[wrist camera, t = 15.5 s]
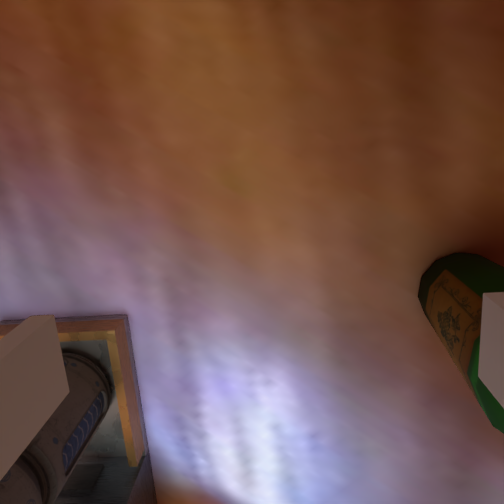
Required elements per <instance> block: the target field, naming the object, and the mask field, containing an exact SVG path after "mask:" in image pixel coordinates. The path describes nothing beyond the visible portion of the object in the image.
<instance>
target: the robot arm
mask: <svg viewBox="0 0 504 504" xmlns="http://www.w3.org/2000/svg"><path fill="white" fill-rule="evenodd" d="M478 377H479V378H480V379H481V381H482V382H483V383H484V385H485V386H486V387H487V388H488V390H489V391H490V392H491V393H492V395H493V396H494V397H495V398H496V400H497V401H498V402H499V403H500V405H501V406H502V407H503V408H504V292H495V293H483V302H482V318H481V335H480V351H479V368H478ZM69 392H70V391H69V386H68V381H67V376H66V371H65V367H64V362H63V357H62V352H61V347H60V342H59V337H58V332H57V327H56V322H55V318H54V315H39V316H30V317H29V318H27V319H26V320H25V321H23V322H22V323H21V324H20V325H18V326H17V327H16V328H14V329H13V330H12V331H10V332H9V333H8V334H7V335H5V336H4V337H3V338H1V339H0V481H1V479H2V478H3V477H4V475H5V474H6V473H7V472H8V470H9V469H10V468H11V466H12V465H13V464H14V463H15V461H16V460H17V459H18V457H19V456H20V455H21V454H22V452H23V451H24V450H25V448H26V447H27V446H28V445H29V443H30V442H31V441H32V439H33V438H34V437H35V436H36V434H37V433H38V432H39V430H40V429H41V428H42V427H43V425H44V424H45V423H46V421H47V420H48V419H49V418H50V416H51V415H52V414H53V412H54V411H55V410H56V409H57V407H58V406H59V405H60V403H61V402H62V401H63V400H64V398H65V397H66V396H67V395H68V393H69Z"/></svg>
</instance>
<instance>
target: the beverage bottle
mask: <svg viewBox="0 0 504 504" xmlns="http://www.w3.org/2000/svg"><path fill="white" fill-rule="evenodd" d="M62 357H63V362H64V367H65V371H66V376H67V381H68V386H69V391H70V392H69V393H68V395H67V396H66V397H65V398H64V400H63V401H62V402H61V403H60V405H59V406H58V407H57V409H56V410H55V411H54V412H53V414H52V415H51V416H50V418H49V419H48V420H47V421H46V423H45V424H44V425H43V427H42V428H41V429H40V430H39V432H38V433H37V434H36V436H35V437H34V438H33V439H32V441H31V442H30V443H29V445H28V446H27V447H26V448H25V450H24V451H23V452H22V454H21V455H20V456H19V457H18V459H17V460H16V461H15V463H14V464H13V465H12V466H11V468H10V469H9V470H8V472H7V473H6V474H5V475H4V477H3V478H2V479H1V481H0V504H54V502H55V500H56V498H57V497H58V495H59V493H60V492H61V490H62V488H63V487H64V485H65V483H66V482H67V480H68V478H69V476H70V475H71V473H72V471H73V470H74V468H75V466H76V465H77V463H78V461H79V460H80V458H81V456H82V455H83V453H84V451H85V449H86V448H87V446H88V444H89V443H90V441H91V439H92V438H93V436H94V434H95V433H96V431H97V429H98V427H99V426H100V424H101V422H102V421H103V419H104V417H105V416H106V414H107V412H108V410H109V406H110V402H111V393H110V389H109V385H108V381H107V379H106V377H105V375H104V373H103V372H102V371H101V369H100V368H99V367H98V366H97V365H94V364H93V362H92V361H91V360H89V359H87V358H85V357H83V356H81V355H77V354H74V353H62Z"/></svg>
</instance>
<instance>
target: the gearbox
mask: <svg viewBox="0 0 504 504" xmlns="http://www.w3.org/2000/svg"><path fill="white" fill-rule="evenodd" d="M23 321H25V320H8V321H0V339H1V338H3V337H4V336H5V335H7V334H8V333H9V332H10V331H12V330H13V329H14V328H16V327H17V326H18V325H20V324H21V323H22V322H23ZM55 322H56V327H57V332H58V337H59V342H60V347H61V352H62V353H74V354H77V355H81V356H83V357H85V358H87V359H89V360H91V361H92V362H93V364H94V365H97V366H98V367H99V368H100V369H101V371H102V372H103V373H104V375H105V377H106V379H107V381H108V385H109V389H110V393H111V402H110V406H109V410H108V412H107V414H106V416H105V417H104V419H103V421H102V422H101V424H100V426H99V427H98V429H97V431H96V433H95V434H94V436H93V438H92V439H91V441H90V443H89V444H88V446H87V448H86V449H85V451H84V453H83V455H82V456H81V458H80V460H79V461H78V463H77V465H76V466H75V468H74V470H73V471H72V473H71V475H70V476H69V478H68V480H67V482H66V483H65V485H64V487H63V488H62V490H61V492H60V493H59V495H58V497H57V498H56V500H55V502H54V504H157V500H156V494H155V487H154V481H153V475H152V468H151V462H150V456H149V450H148V443H147V437H146V431H145V424H144V418H143V412H142V405H141V399H140V393H139V386H138V380H137V374H136V368H135V361H134V355H133V349H132V342H131V336H130V330H129V323H128V317H127V315H108V316H88V317H68V318H55Z"/></svg>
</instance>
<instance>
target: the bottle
mask: <svg viewBox="0 0 504 504" xmlns="http://www.w3.org/2000/svg"><path fill="white" fill-rule="evenodd" d="M495 292H504V267H502V266H500V265H498V264H496V263H494V262H492V261H490V260H488V259H486V258H484V257H482V256H480V255H478V254H467V253H454V254H452V255H449V256H447V257H444V258H442V259H439V260H437V261H435V262H434V264H433V265H432V266H431V267H430V268H429V269H428V271H427V272H426V273H425V274H424V275H423V276H422V278H421V284H420V289H419V294H418V298H419V301H420V303H421V306H422V308H423V311H424V313H425V315H426V317H427V319H428V320H429V322H430V323H431V325H432V327H433V328H434V330H435V332H436V333H437V335H438V337H439V338H440V340H441V342H442V343H443V345H444V346H445V348H446V350H447V351H448V353H449V355H450V356H451V358H452V360H453V361H454V363H455V365H456V366H457V368H458V369H459V371H460V373H461V374H462V376H463V378H464V379H465V381H466V383H467V384H468V386H469V388H470V389H471V391H472V392H473V394H474V396H475V397H476V399H477V401H478V402H479V404H480V406H481V407H482V409H483V411H484V412H485V414H486V415H487V417H488V419H489V420H490V422H491V424H492V425H493V427H495V428H496V429H498V430H499V431H501V432H502V433H504V408H503V407H502V406H501V405H500V403H499V402H498V401H497V400H496V398H495V397H494V396H493V395H492V393H491V392H490V391H489V390H488V388H487V387H486V386H485V385H484V383H483V382H482V381H481V379H480V378H479V377H478V368H479V351H480V335H481V318H482V302H483V293H495Z"/></svg>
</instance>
